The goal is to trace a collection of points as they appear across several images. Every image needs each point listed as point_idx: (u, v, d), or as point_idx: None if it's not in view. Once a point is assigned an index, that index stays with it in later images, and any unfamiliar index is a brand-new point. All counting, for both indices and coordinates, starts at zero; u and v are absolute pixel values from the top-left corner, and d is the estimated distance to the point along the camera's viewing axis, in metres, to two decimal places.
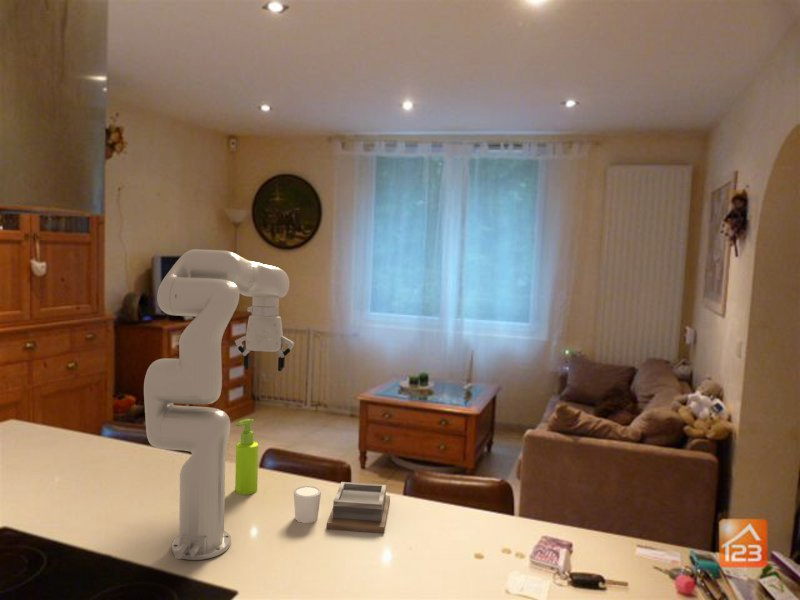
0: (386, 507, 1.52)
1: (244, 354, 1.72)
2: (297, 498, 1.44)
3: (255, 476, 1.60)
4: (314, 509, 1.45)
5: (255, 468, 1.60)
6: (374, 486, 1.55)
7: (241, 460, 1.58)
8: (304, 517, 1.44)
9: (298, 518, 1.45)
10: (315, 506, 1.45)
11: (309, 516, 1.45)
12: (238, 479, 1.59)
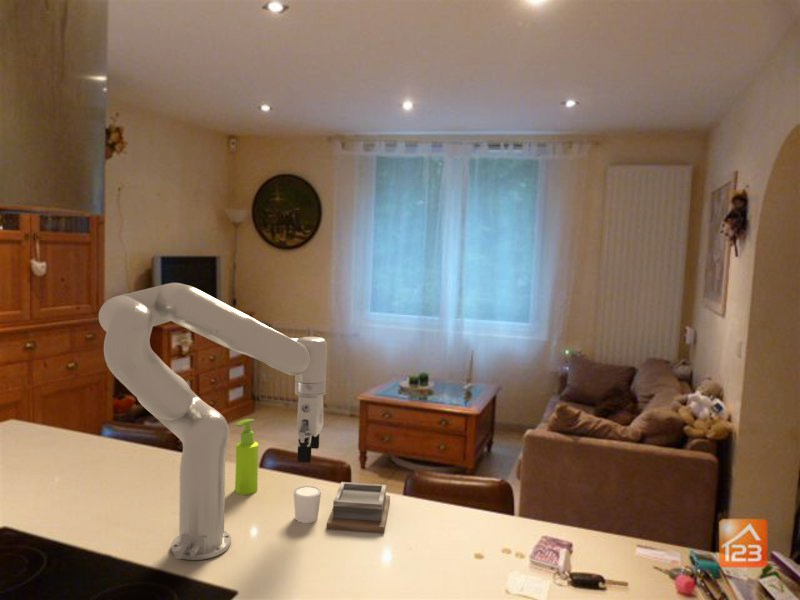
0: (386, 507, 1.52)
1: (309, 445, 1.40)
2: (297, 498, 1.44)
3: (255, 476, 1.60)
4: (314, 509, 1.45)
5: (255, 468, 1.60)
6: (374, 486, 1.55)
7: (241, 460, 1.58)
8: (304, 517, 1.44)
9: (298, 518, 1.45)
10: (315, 506, 1.45)
11: (309, 516, 1.45)
12: (238, 479, 1.59)
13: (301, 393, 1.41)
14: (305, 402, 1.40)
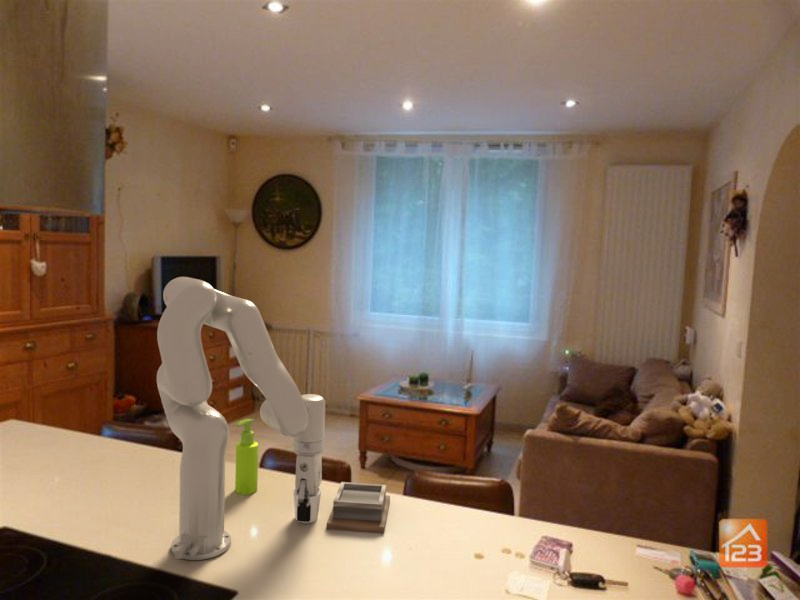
0: (386, 507, 1.52)
1: (308, 505, 1.43)
2: (297, 498, 1.44)
3: (255, 476, 1.60)
4: (314, 509, 1.45)
5: (255, 468, 1.60)
6: (374, 486, 1.55)
7: (241, 460, 1.58)
8: None
9: None
10: (315, 506, 1.45)
11: None
12: (238, 479, 1.59)
13: (299, 452, 1.42)
14: (303, 461, 1.41)
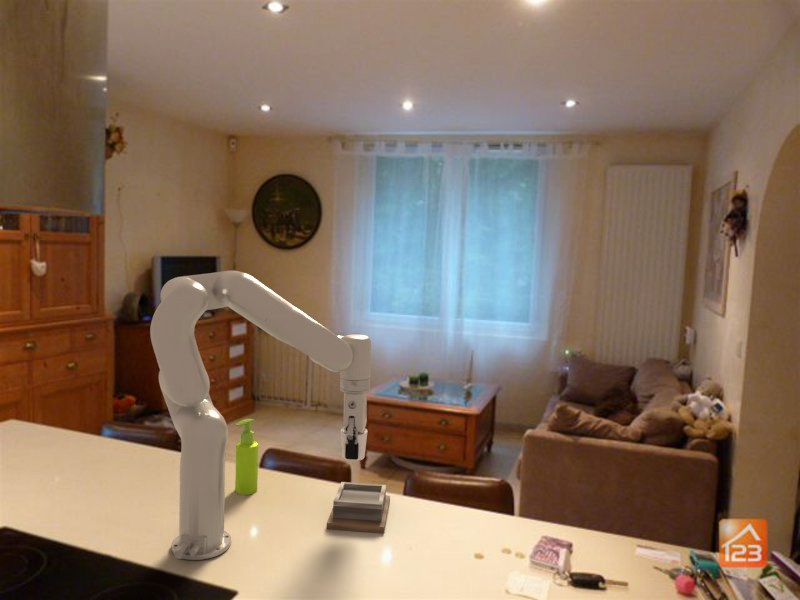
0: (386, 507, 1.52)
1: (356, 442, 1.44)
2: (345, 436, 1.46)
3: (255, 476, 1.60)
4: (361, 447, 1.47)
5: (255, 468, 1.60)
6: (374, 486, 1.55)
7: (241, 460, 1.58)
8: None
9: None
10: (362, 444, 1.47)
11: None
12: (238, 479, 1.59)
13: (347, 390, 1.44)
14: (351, 399, 1.43)
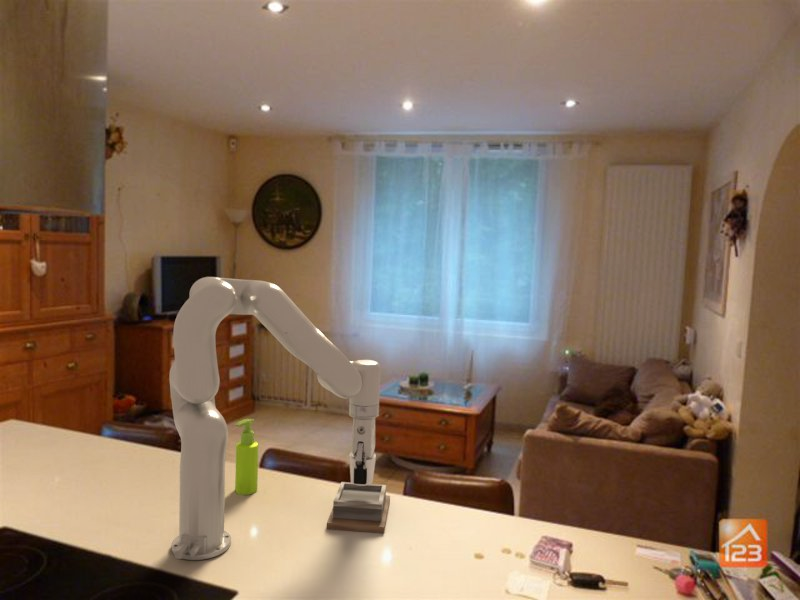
0: (386, 507, 1.52)
1: None
2: (353, 461, 1.47)
3: (255, 476, 1.60)
4: (370, 472, 1.48)
5: (255, 468, 1.60)
6: (374, 486, 1.55)
7: (241, 460, 1.58)
8: None
9: None
10: (371, 469, 1.48)
11: None
12: (238, 479, 1.59)
13: (356, 415, 1.45)
14: (360, 424, 1.44)
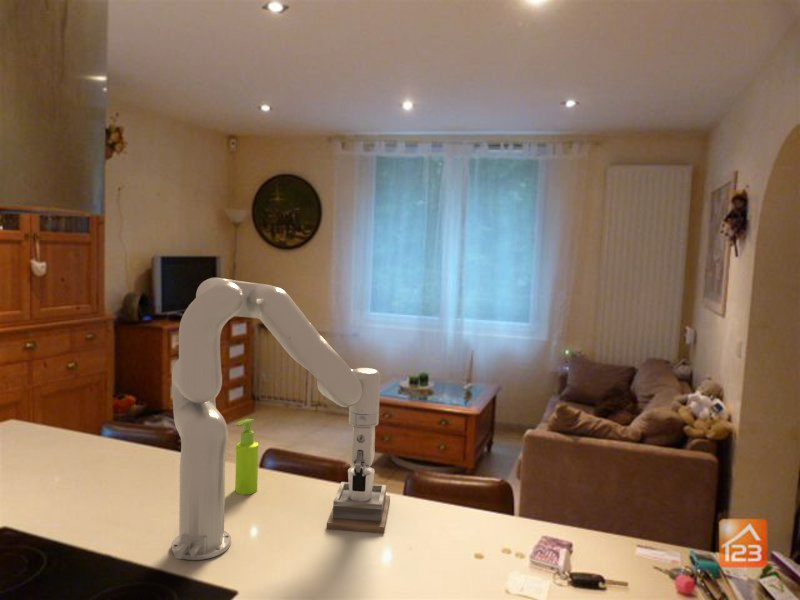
0: (386, 507, 1.52)
1: (364, 475, 1.44)
2: (352, 477, 1.47)
3: (255, 476, 1.60)
4: (369, 487, 1.48)
5: (255, 468, 1.60)
6: (374, 486, 1.55)
7: (241, 460, 1.58)
8: (359, 495, 1.48)
9: (353, 496, 1.48)
10: (370, 484, 1.48)
11: (364, 494, 1.48)
12: (238, 479, 1.59)
13: (356, 424, 1.45)
14: (360, 433, 1.44)
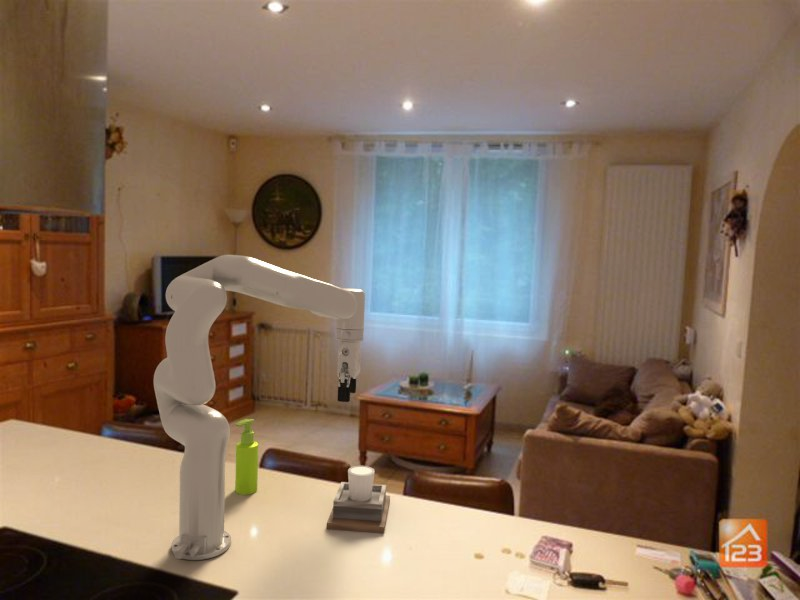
0: (386, 507, 1.52)
1: (348, 386, 1.53)
2: (352, 477, 1.47)
3: (255, 476, 1.60)
4: (369, 487, 1.48)
5: (255, 468, 1.60)
6: (374, 486, 1.55)
7: (241, 460, 1.58)
8: (359, 495, 1.48)
9: (353, 496, 1.48)
10: (370, 484, 1.48)
11: (364, 494, 1.48)
12: (238, 479, 1.59)
13: (341, 338, 1.55)
14: (345, 346, 1.54)
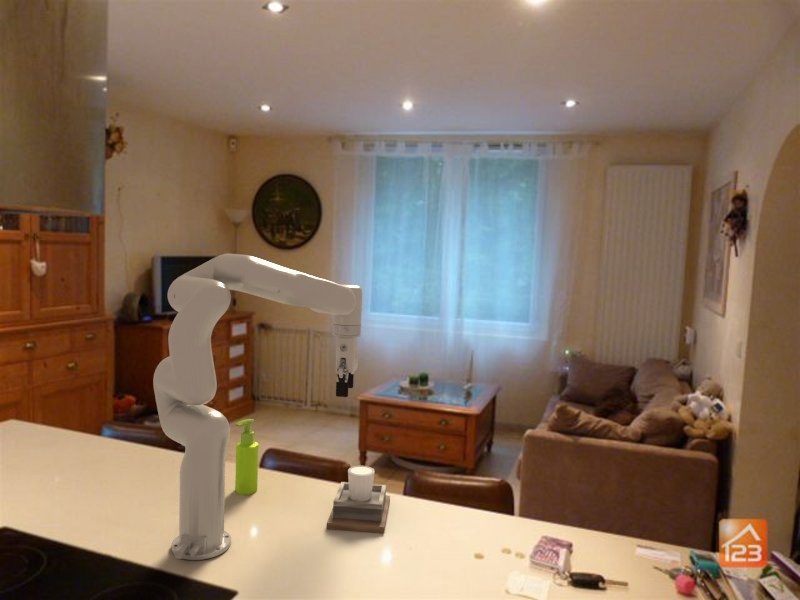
0: (386, 507, 1.52)
1: (346, 381, 1.55)
2: (352, 477, 1.47)
3: (255, 476, 1.60)
4: (369, 487, 1.48)
5: (255, 468, 1.60)
6: (374, 486, 1.55)
7: (241, 460, 1.58)
8: (359, 495, 1.48)
9: (353, 496, 1.48)
10: (370, 484, 1.48)
11: (364, 494, 1.48)
12: (238, 479, 1.59)
13: (339, 334, 1.56)
14: (343, 342, 1.55)
